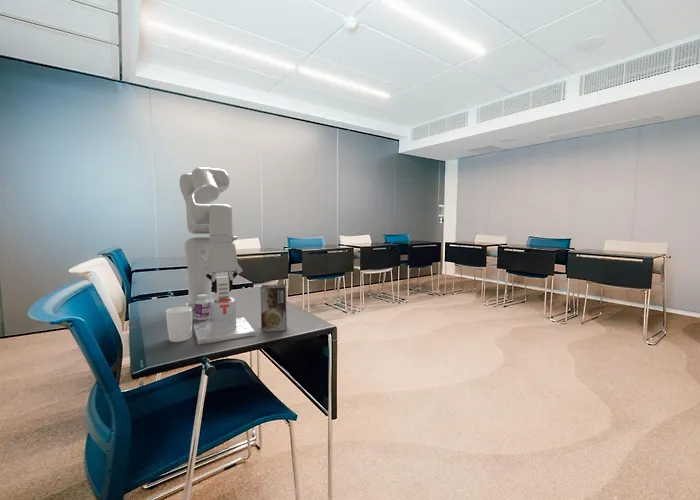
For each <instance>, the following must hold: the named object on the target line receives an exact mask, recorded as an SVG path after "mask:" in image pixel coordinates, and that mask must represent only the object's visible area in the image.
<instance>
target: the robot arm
mask: <svg viewBox="0 0 700 500" xmlns="http://www.w3.org/2000/svg"><path fill="white" fill-rule="evenodd" d="M229 186H230V177H229V174H228V172H227V171H226V170H225V169H222V168H215V167H214V168H213V167H211V168H210V167H206V166H205V167H196V168H195V169H193V170H192V172H189V173H183V174H181V175H180V176H179V188H180V192H181V194H182V197H183V200H184V203H185V205H186V206H185V207H186V209H185V210H186V224H187V231H188V233H190V234H191V235H208V236H209V237H206V236H203V237H202V236H201V237H200V236H198V237H191V238H188V239H187V240H186V241H185V242H184V251H185V255H186V262H187V263H186V264H187V285H188V287H187V289H188V301H187V302H186V303H185V304H184V306H188V307H192V308H193V310H195V301H196V300H197V295H200V294H207V295H208V298H207V299H208V300H209V302H210V300H211V299H212V291H213V293H214V294H216V293H217V282H216V279H215V278H216V277H217V274H219V273H220V274H222V273H227V277H228V278H229V293H231V292H232V289H233V288H234V286H233V285H234V282H233V281H234V280H235V278H236V277H237V276H238V275H239V274H241V273H242V272H243V271H244V270H243V268H242V267H241V266H240V264H239V263H238V256H237V255H238V254H237V249H236V245H235V243H234V241H237V240H238V238H237V236H235V235H233V208H232V206H231V205H229V204H226V203H225V204H224V203H223V204H222V203H213V202H215V201H216V200H217V199H218V198H219V196H220V194H222V193H223V192H225V191H226V190H227V189H228V188H229Z"/></svg>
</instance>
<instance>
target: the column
mask: <svg viewBox="0 0 700 500" xmlns="http://www.w3.org/2000/svg"><path fill="white" fill-rule="evenodd" d="M215 279H216V282H217V293H215V298H216V303H218V302H219V299H229V301H230V297H231V296H230V292H229V276H228V275H227V276H216V278H215Z"/></svg>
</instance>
